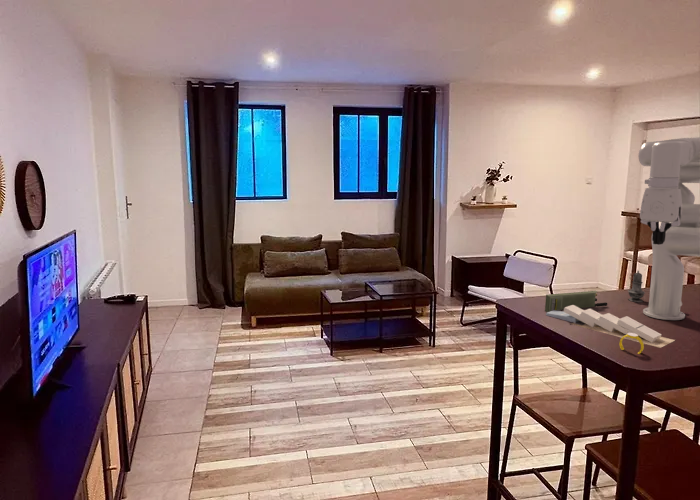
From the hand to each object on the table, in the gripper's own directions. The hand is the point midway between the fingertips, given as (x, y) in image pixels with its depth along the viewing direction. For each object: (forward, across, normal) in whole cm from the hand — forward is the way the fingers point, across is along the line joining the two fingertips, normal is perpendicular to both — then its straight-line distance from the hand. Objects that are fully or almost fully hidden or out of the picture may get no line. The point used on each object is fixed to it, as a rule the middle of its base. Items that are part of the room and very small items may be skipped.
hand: (658, 243), depth 153 cm
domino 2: (+28, -13, -7) cm, 31 cm away
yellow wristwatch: (+29, +4, -21) cm, 36 cm away
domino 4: (+28, -1, -7) cm, 28 cm away
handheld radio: (+30, -29, +8) cm, 42 cm away
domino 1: (+28, -20, -7) cm, 34 cm away
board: (+29, -6, -7) cm, 31 cm away
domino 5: (+28, +5, -7) cm, 29 cm away
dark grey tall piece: (+29, -21, +36) cm, 51 cm away
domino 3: (+28, -7, -7) cm, 29 cm away
